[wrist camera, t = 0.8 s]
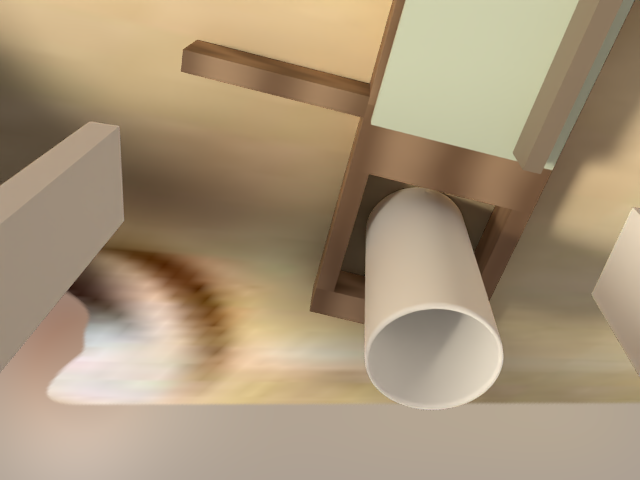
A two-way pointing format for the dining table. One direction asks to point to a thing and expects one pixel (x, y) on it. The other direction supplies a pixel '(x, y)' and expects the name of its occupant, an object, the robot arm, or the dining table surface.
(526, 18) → the lid
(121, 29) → the dining table surface
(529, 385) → the dining table surface
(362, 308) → the board
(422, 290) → the cup
